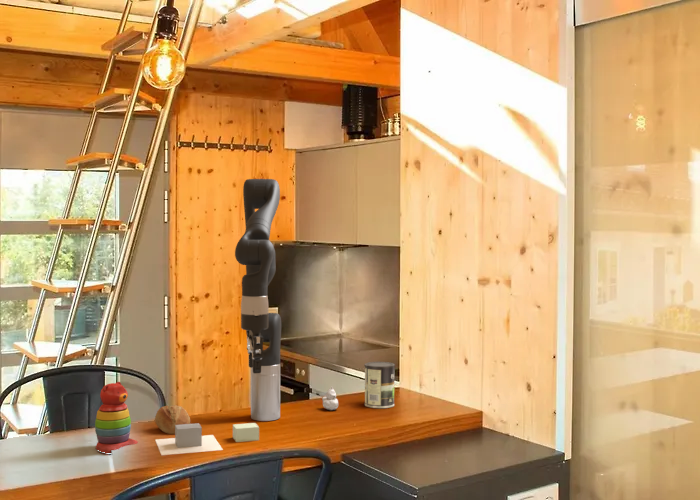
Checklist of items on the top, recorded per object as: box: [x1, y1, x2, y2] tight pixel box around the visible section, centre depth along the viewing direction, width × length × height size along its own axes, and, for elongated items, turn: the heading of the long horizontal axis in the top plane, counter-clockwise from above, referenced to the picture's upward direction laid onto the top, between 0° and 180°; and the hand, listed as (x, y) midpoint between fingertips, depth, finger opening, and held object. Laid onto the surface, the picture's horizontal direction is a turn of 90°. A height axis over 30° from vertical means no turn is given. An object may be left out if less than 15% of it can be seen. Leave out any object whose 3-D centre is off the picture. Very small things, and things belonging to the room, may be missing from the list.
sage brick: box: [232, 422, 260, 443], centre depth 223 cm, size 6×5×5 cm
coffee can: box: [364, 361, 396, 409], centre depth 271 cm, size 10×10×14 cm
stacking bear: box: [94, 381, 139, 454], centre depth 217 cm, size 11×10×18 cm
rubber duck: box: [322, 386, 339, 411], centre depth 265 cm, size 5×7×8 cm
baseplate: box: [154, 434, 224, 456], centre depth 217 cm, size 16×16×1 cm
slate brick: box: [174, 422, 203, 448], centre depth 217 cm, size 6×5×5 cm
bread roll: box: [154, 404, 191, 435], centre depth 234 cm, size 10×15×8 cm, turn 28°
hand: (254, 370), depth 221 cm, fingers open, 8 cm apart
